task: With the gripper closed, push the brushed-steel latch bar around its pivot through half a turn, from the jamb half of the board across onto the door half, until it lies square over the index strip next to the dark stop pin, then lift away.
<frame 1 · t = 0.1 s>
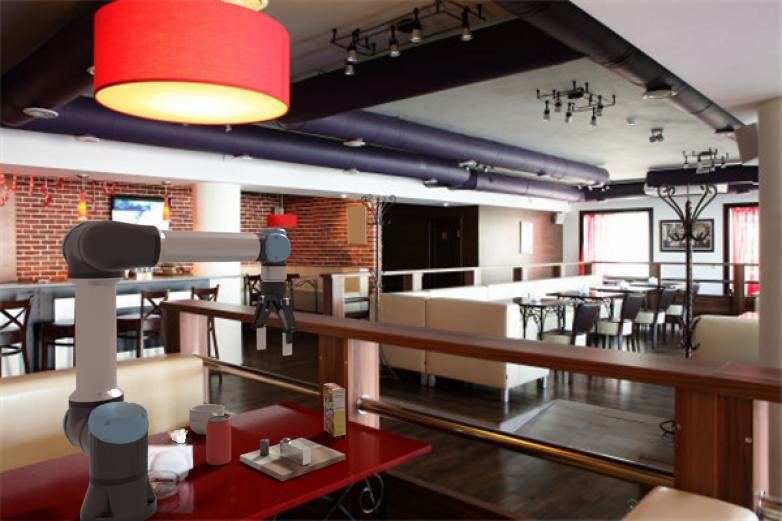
hand: (273, 352, 168), 28 cm above the table, fingers open, 13 cm apart
latch bar: (295, 451, 153), point 4 cm above the table, hinge at -90.0°
teacup: (207, 433, 180), on the table
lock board: (292, 460, 157), on the table
beer can: (218, 462, 155), on the table
candy box: (334, 434, 180), on the table
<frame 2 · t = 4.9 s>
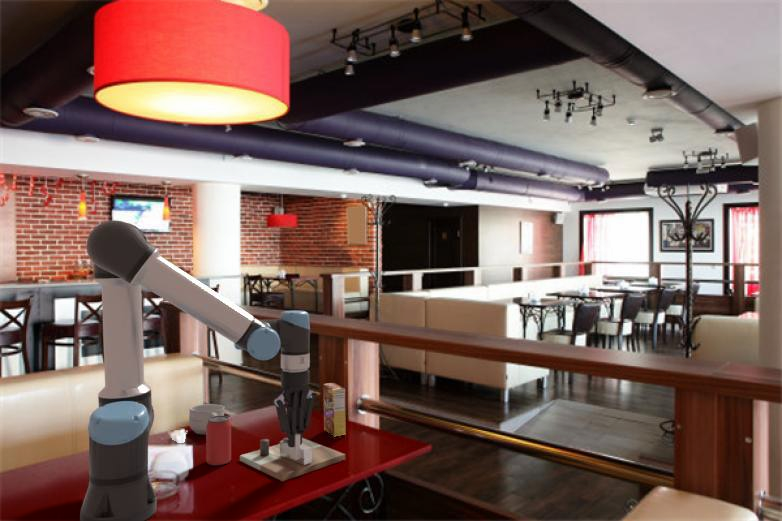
hand: (295, 458, 150), 3 cm above the table, fingers closed
latch bar: (295, 450, 153), point 4 cm above the table, hinge at -88.0°, touching gripper
everything else where it was.
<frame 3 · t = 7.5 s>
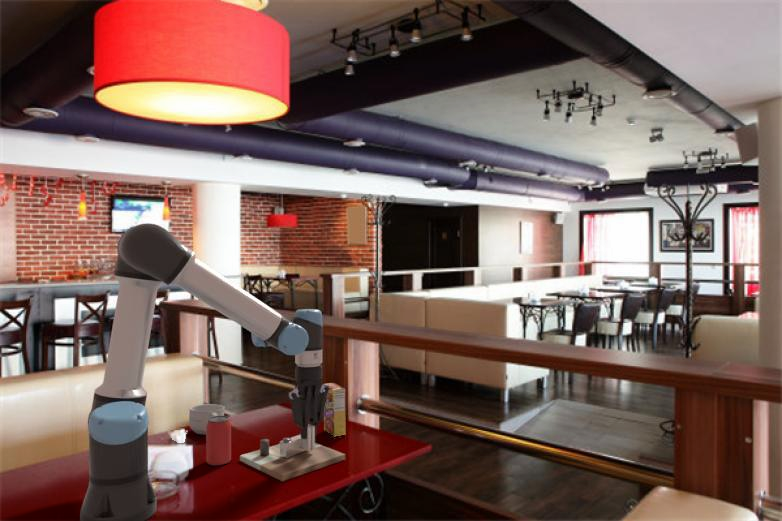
hand: (308, 449, 158), 3 cm above the table, fingers closed
latch bar: (297, 443, 158), point 4 cm above the table, hinge at 6.8°, touching gripper
everything else where it was.
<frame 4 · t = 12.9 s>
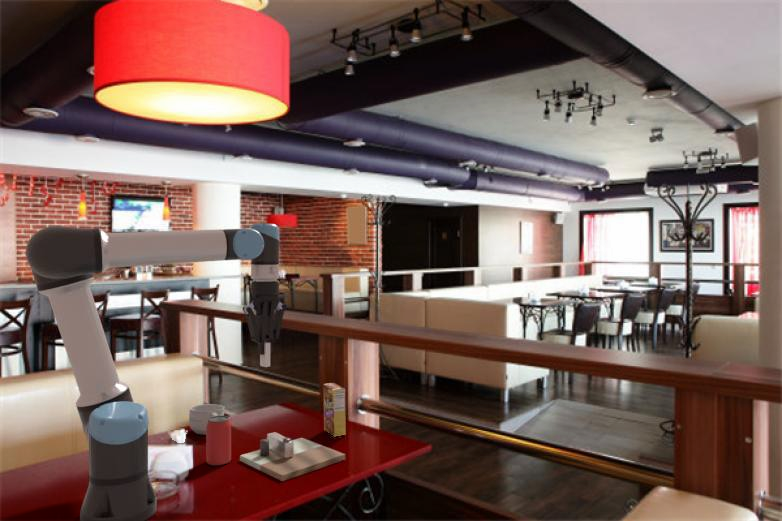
hand: (265, 366, 155), 26 cm above the table, fingers closed
latch bar: (280, 443, 158), point 4 cm above the table, hinge at 83.9°
everything else where it was.
at the end: latch bar at +84° (first picture: -90°) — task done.
